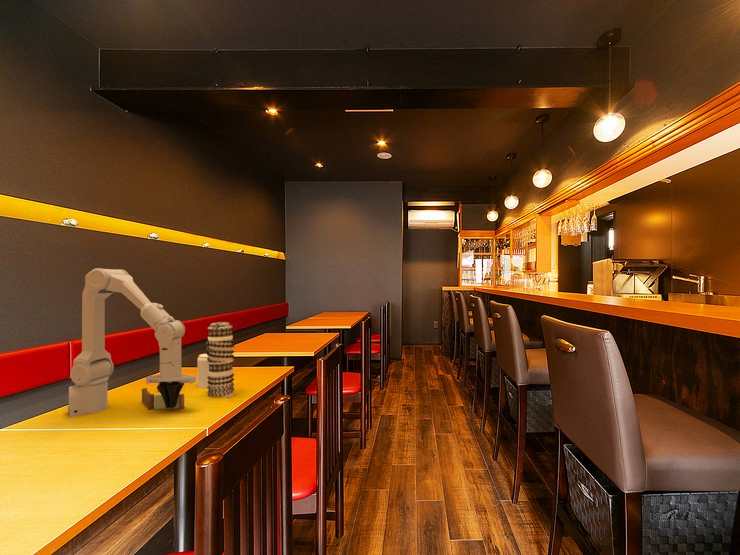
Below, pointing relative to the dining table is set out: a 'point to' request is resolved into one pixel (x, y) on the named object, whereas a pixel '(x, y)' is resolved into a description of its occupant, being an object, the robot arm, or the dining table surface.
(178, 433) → the dining table surface
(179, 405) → the fence gate
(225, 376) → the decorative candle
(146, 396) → the base
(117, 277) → the robot arm
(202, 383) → the beverage can
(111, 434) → the dining table surface
